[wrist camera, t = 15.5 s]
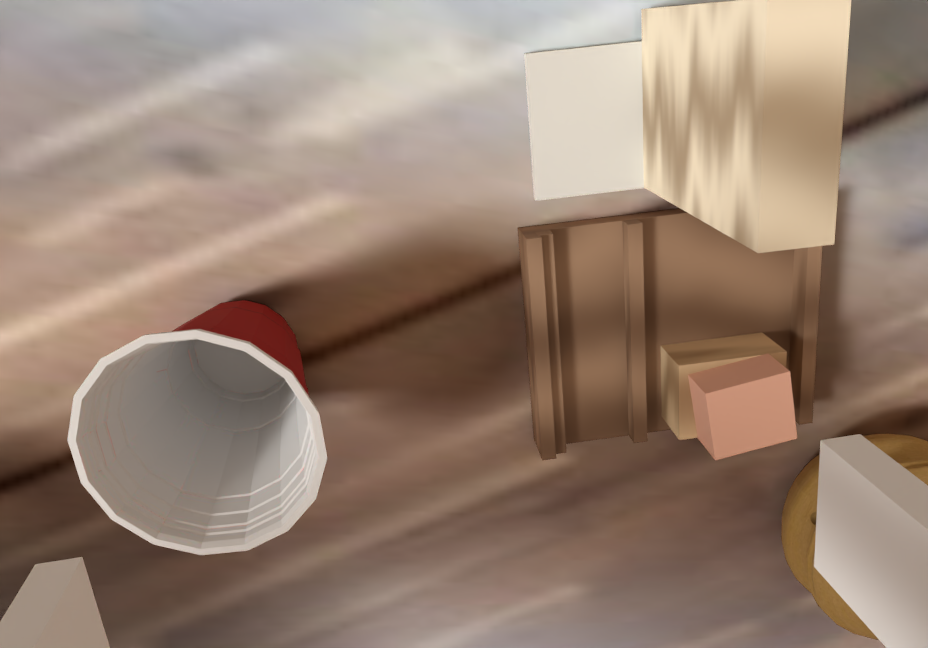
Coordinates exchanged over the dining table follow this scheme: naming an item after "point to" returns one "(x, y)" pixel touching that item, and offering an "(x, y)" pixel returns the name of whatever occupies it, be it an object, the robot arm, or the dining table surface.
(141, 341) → the plastic cup
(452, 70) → the dining table surface
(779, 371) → the offcut terracotta
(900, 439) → the pot
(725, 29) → the birch block
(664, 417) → the offcut oak
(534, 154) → the white mat
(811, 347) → the rack
